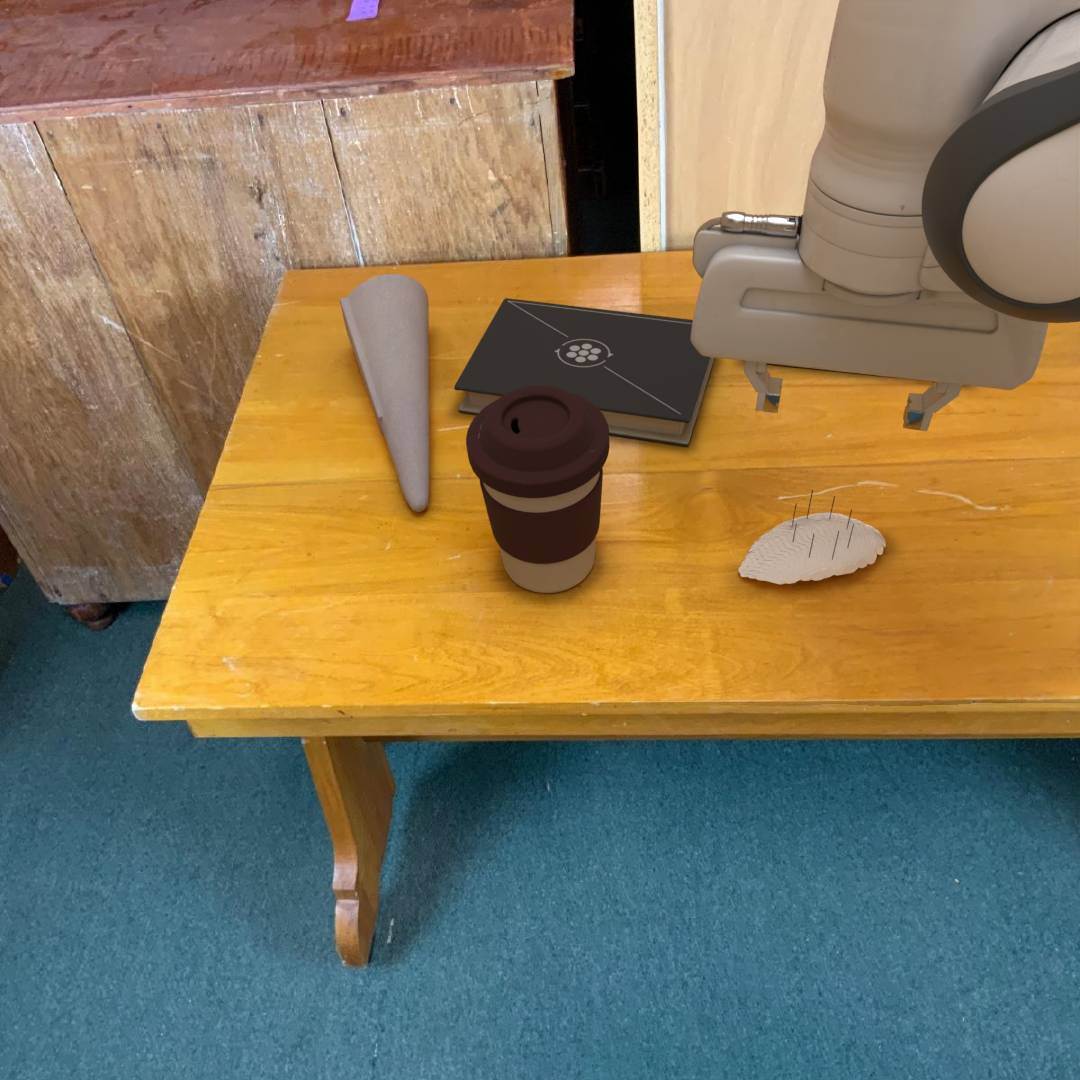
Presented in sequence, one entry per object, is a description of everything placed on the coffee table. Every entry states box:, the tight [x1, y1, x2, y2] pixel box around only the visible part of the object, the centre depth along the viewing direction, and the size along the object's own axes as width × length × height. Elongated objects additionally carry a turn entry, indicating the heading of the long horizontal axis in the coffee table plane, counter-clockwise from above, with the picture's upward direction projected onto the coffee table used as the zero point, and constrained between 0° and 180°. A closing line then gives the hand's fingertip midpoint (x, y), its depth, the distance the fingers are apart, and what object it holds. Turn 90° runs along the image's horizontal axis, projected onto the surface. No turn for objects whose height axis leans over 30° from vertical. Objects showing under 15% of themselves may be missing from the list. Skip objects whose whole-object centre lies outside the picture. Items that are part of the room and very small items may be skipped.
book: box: [453, 297, 716, 447], centre depth 90 cm, size 22×15×3 cm
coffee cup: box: [465, 385, 610, 594], centre depth 70 cm, size 10×10×15 cm
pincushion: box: [737, 489, 888, 586], centre depth 72 cm, size 12×6×6 cm, turn 104°
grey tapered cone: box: [339, 273, 431, 513], centre depth 87 cm, size 8×9×26 cm
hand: (839, 415), depth 63 cm, fingers open, 8 cm apart
